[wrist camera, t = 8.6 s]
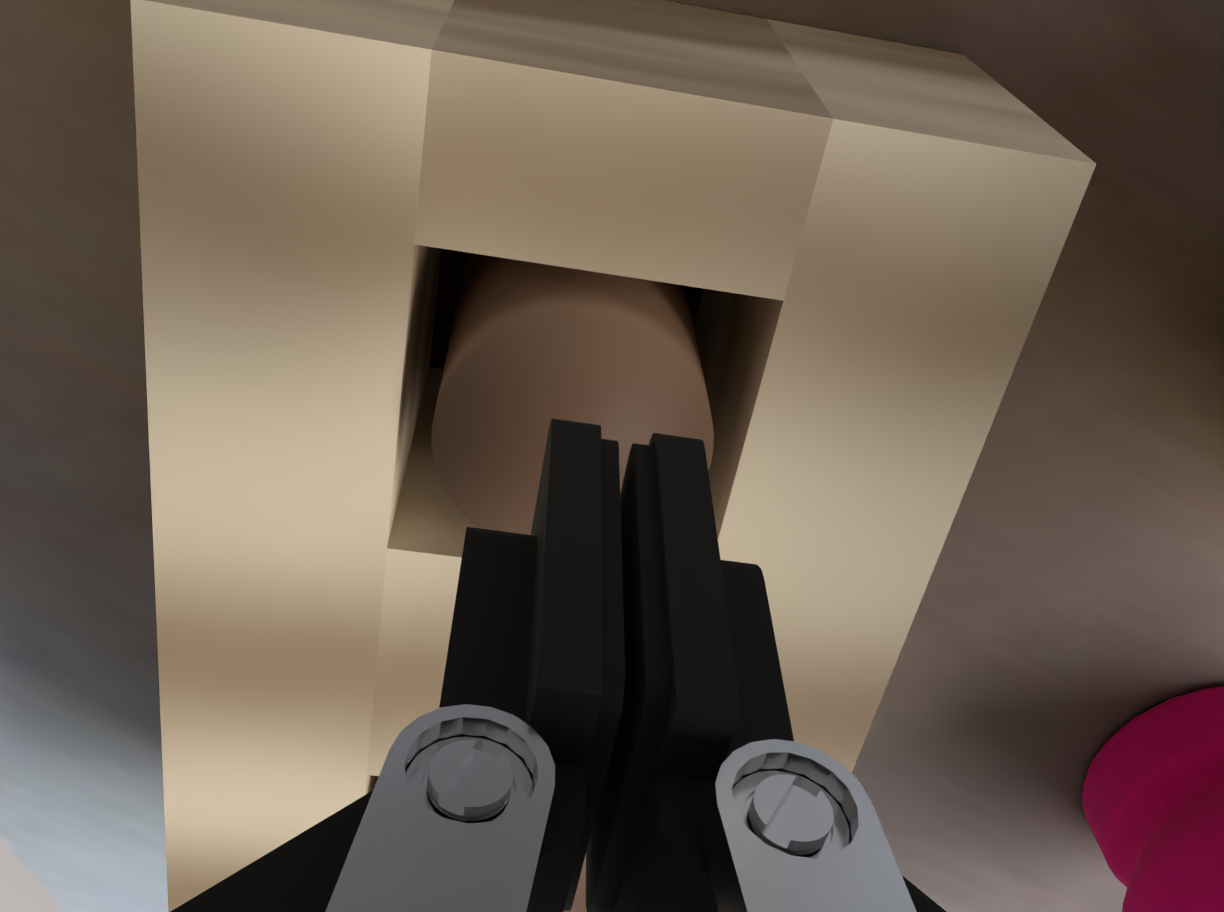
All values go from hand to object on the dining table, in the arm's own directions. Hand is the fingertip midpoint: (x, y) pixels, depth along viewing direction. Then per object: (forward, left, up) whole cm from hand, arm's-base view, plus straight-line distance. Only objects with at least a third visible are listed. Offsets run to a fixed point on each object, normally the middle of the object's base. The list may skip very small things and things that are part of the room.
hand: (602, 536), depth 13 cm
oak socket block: (+6, 0, -10) cm, 12 cm away
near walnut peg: (+1, 0, -10) cm, 10 cm away
